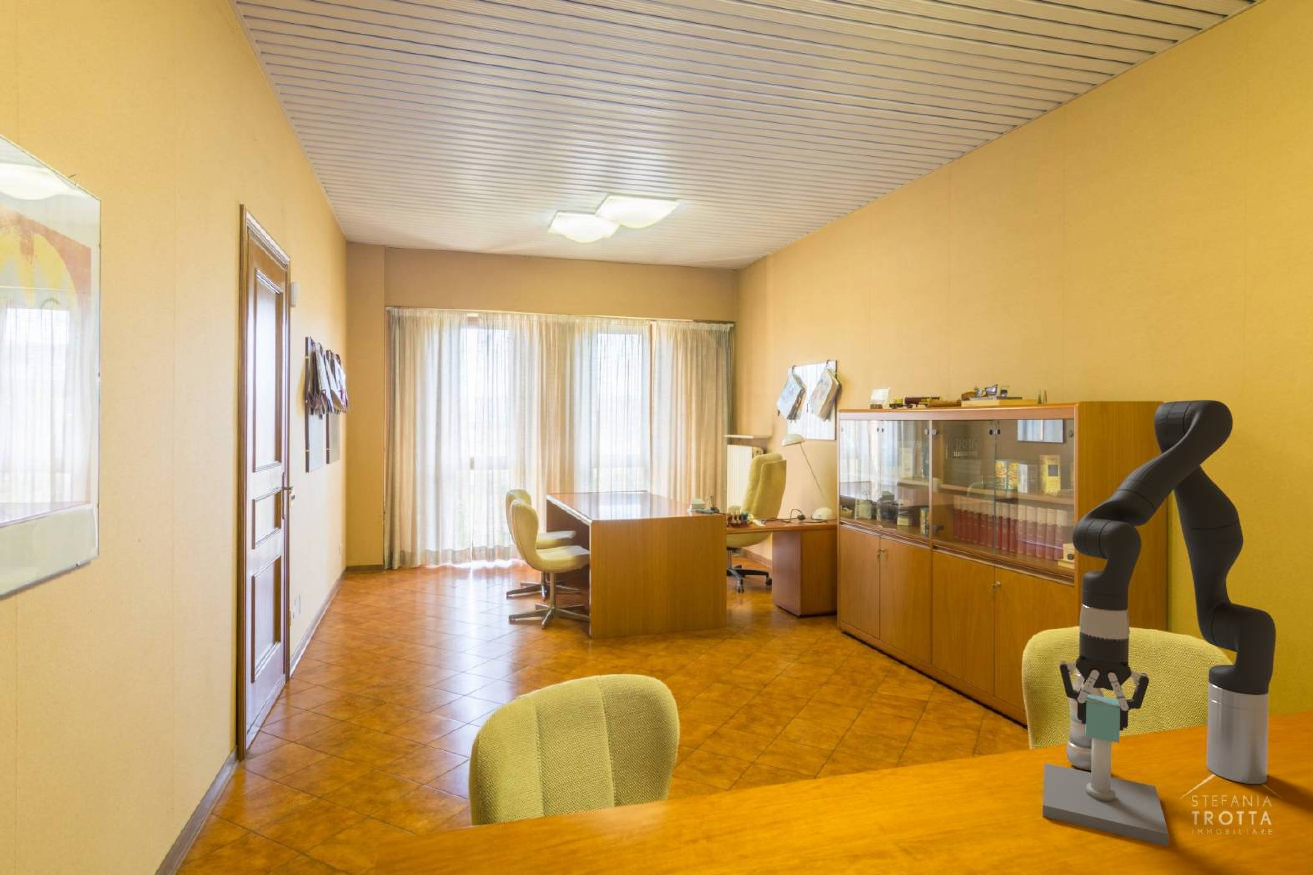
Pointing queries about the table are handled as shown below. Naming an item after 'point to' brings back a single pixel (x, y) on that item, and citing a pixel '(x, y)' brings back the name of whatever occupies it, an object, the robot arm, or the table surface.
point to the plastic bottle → (1079, 731)
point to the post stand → (1103, 799)
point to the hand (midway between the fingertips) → (1101, 725)
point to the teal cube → (1102, 718)
